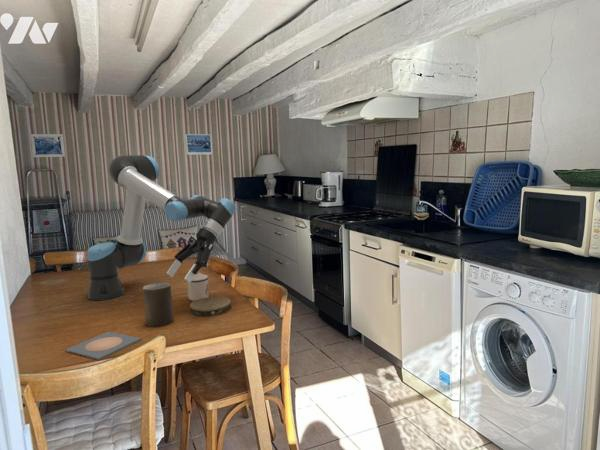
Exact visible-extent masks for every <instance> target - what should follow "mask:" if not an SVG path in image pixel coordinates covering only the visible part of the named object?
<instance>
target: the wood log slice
mask: <svg viewBox="0 0 600 450" xmlns="http://www.w3.org/2000/svg"><path fill="white" fill-rule="evenodd" d="M231 300H232V299H230V298H228V297H224V296H209V297H207V298H202V299H198V300H195V301H192V302H191V303H189V310H190V314H191V315H192V316H195V317H214V316H219V315H223V314H226V313H228V312H229V311H231V310H232V301H231Z"/></svg>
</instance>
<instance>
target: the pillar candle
mask: <svg viewBox="0 0 600 450" xmlns="http://www.w3.org/2000/svg"><path fill="white" fill-rule="evenodd" d="M171 288H172V287H171V283H170V282H155V283H150V284H147V285H144V286H143V288H142V291H143V302H144V304H143V305H144V316H145V324H146V325H147V326H149V327H162V326H167V325H169V324H171V323H173V322H174V309H173V298H172V297H173V296H172V289H171Z"/></svg>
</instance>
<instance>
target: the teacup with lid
mask: <svg viewBox="0 0 600 450" xmlns="http://www.w3.org/2000/svg"><path fill="white" fill-rule="evenodd" d="M186 284H187V294H188V299H189V300H190V301H192V302H194V301H195V300H198V299H202V298H207V297H210V290H209V276H208V275H207V274H203V273H200V270H199V271H198V272H197V274H196V275H195V277H194V278H193V280H192V281H191V283H189V282H188V281H187V280H186Z"/></svg>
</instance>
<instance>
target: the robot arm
mask: <svg viewBox="0 0 600 450" xmlns="http://www.w3.org/2000/svg"><path fill="white" fill-rule="evenodd" d="M108 175H109V176H110V178H111V179H112V181H113V182H114V183H115V184H117V185H119V186H120V187H122V188H126V189H127V190H126V197H125V203H124V209H123V210H124V211H123V215H122V217H123V218H122V223H121V230H120V234H119V235H117V236H116V241H115V242H111V241H110V242H108V241H107V242H103V243H98V244H95V245H92V246H90V247H89V248H88V249H87V252H86V253H87V258H86V259H87V262H88V263H87V264H88V272H89V279H90V281H89V286H88V290H87V299H88V300H91V301H104V300H111V299H115V298H119V297H121V296H123V295H124V294H125V289H124V288H125V287H124V286H123V283H122V281H121V280H120V276H119V270H120V269H123V268H127V267H132V266H133V267H134V266H136V265H138V264H141V263H142V262H143V261H144V260H145V258H146V255H147V247H146V244H145V242H144V240H143V238H142V237H141V234H142V228H143V227H142V226H143V221H144V220H143V219H144V215H145V207H146V201H149V202H150V203H151V204H153V205H155V206H157V207H158V208H160V209H161V210H163V211H164V214H165V216H166V218H167V219H168V220H169V221H173V222H175V221H176V222H179V221H180V222H181V221H183V220H188V219H189V220H190V219H195V218H200V217H203V218H206V220H205V221H204V223H203V225H201V228H200V229H199V230H198V231H197V233H196V234H195V237H196V239H195V241H194V240H193V239H190V240H189V241H188V242H187V244H186V245H184V246H183V247H182V248H181V249H180V250H179V251H178V252H177V253H176V254H174V255H173V258H174V259H175V260H174V262H173V263H172V265H171V266H170V267H169V269H168V270H167V272H166V274H167V275H168V276H169V277H170V278H173V277H174V275H175V274H176V273H177V271H178V270H179V268H180V267H181V265H182V264H183V261H185V260H186V259H188V258H189V257H190V256H192V255H195V254H196V255H197V256H196V260H195V262H194V263H193V265H192V266H191V268H190V269H189V271H188V272H187V273H186V275H185V277H184V278H183V279H184V280H185V281H186V282H187V281H188V282H189V283H191V281H192V280H193V278H194V277H195V275H196V274H197V272H198V271H199V272H200V269H202V268H206V267H207V265H208V262H209V259H210V256H211V252H212V250H213V248H214V243H215V242H216V240H217V238H219V236H220V235H221V233H222V232H223V230H224V228H225V227H226V225H227V224H228V222H229V221H230V220H231V218H233V215H234V213H235V212H236V210H237V206H236V204H235V203H234V202H233V201H232V200H231V199H228V198H226V197H222V198H221V199H220V200H219V201H215V200H213V199H209V198H207V197H205V196H202V195H198V194H194V195H193V196H192V197H190V198H189V199H183V198H181V197H179V196H177V195H176V194H174V193H173V192H171V191H169V190H168V189H166V188H164V187H162V186H161V185H160V184H159V183H156V182H155V181H156V180H157V179H158V178H159V176H160V167H159V164H158V162H157V161H156V158H154V157H152V156H151V155H143V154H137V155H135V154H134V155H133V154H132V155H131V154H130V155H129V154H128V155H127V154H126V155H125V154H123V155H117V156H116V157H114V158H113V159H112V160H111V161H110V163H109V165H108Z"/></svg>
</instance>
